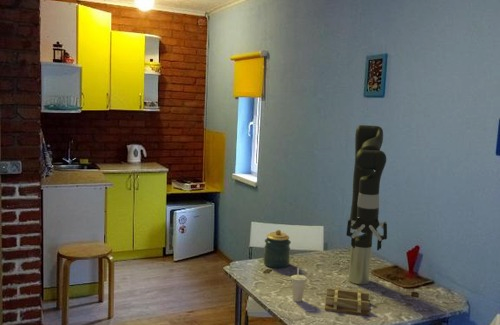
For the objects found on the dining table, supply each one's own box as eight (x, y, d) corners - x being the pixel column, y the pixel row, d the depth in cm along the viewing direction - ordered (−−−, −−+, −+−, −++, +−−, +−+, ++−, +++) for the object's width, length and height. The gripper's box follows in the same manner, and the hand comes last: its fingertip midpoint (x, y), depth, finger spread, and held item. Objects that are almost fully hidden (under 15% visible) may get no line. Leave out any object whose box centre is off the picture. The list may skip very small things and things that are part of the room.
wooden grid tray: (326, 293, 205) (327, 284, 205) (367, 299, 202) (368, 290, 202) (324, 310, 189) (325, 300, 188) (369, 316, 186) (370, 306, 185)
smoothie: (295, 295, 202) (297, 263, 200) (308, 300, 198) (310, 267, 196) (286, 299, 197) (288, 266, 195) (299, 304, 193) (301, 271, 191)
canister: (290, 269, 234) (292, 234, 232) (263, 267, 234) (265, 232, 232) (288, 260, 247) (290, 227, 244) (263, 259, 247) (265, 225, 245)
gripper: (388, 204, 175) (386, 247, 177) (348, 201, 178) (346, 243, 181) (388, 209, 168) (386, 254, 170) (347, 206, 171) (345, 249, 174)
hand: (365, 248), depth 175 cm, fingers open, 8 cm apart
